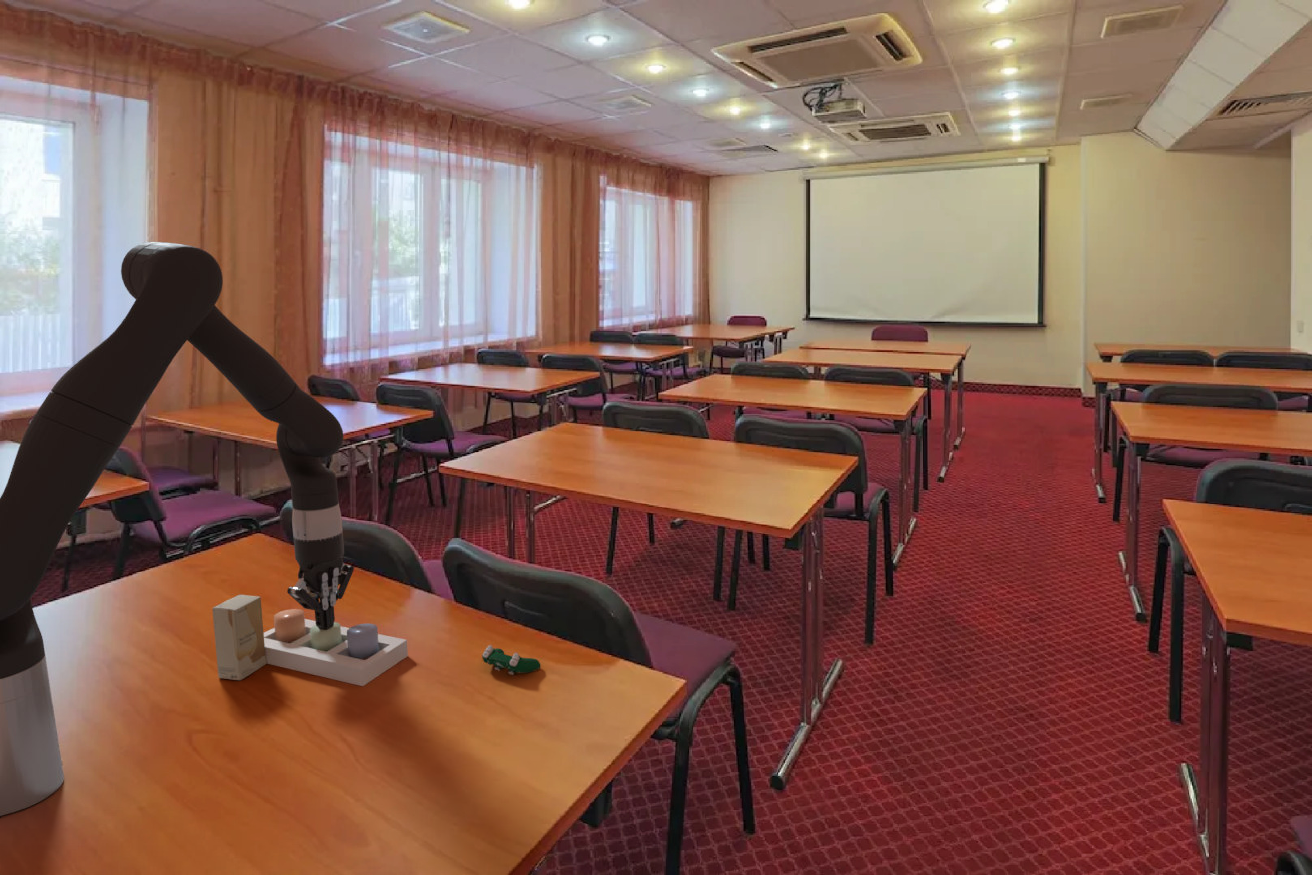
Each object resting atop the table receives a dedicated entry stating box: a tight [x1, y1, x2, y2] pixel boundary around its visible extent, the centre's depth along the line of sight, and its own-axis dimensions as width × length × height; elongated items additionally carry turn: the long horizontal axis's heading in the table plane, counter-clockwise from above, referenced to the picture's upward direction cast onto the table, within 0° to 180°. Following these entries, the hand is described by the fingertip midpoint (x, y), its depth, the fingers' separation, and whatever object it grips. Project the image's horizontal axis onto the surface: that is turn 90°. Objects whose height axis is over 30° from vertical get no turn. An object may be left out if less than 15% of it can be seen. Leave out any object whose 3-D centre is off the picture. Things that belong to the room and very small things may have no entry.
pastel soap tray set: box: [263, 618, 409, 687], centre depth 129 cm, size 11×25×3 cm, turn 69°
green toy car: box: [481, 644, 542, 676], centre depth 125 cm, size 9×4×6 cm
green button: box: [310, 621, 342, 652], centre depth 128 cm, size 5×5×4 cm
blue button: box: [347, 623, 379, 660], centre depth 126 cm, size 5×5×4 cm
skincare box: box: [212, 594, 267, 681], centre depth 123 cm, size 6×4×12 cm
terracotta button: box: [273, 608, 306, 643], centre depth 131 cm, size 5×5×4 cm
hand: (326, 627), depth 128 cm, fingers closed
